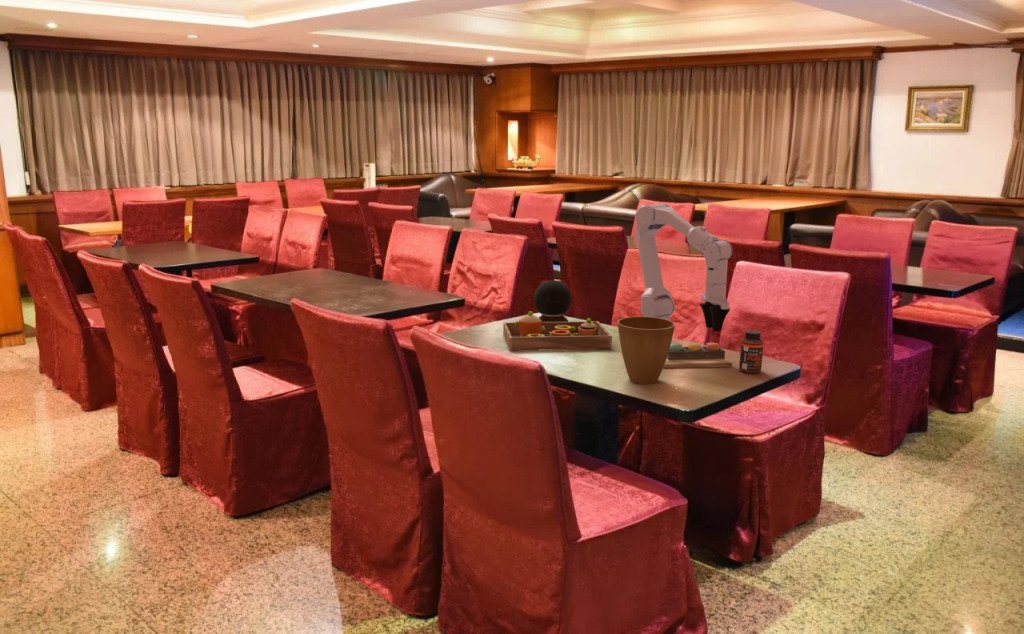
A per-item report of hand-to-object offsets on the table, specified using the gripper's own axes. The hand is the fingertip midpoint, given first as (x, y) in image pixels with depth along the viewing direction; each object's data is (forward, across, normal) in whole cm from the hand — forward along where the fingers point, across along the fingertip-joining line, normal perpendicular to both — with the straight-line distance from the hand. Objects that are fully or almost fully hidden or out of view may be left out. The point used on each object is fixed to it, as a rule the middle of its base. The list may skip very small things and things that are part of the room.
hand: (713, 329), depth 243 cm
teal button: (+7, -1, -11) cm, 13 cm away
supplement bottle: (+10, +13, +6) cm, 17 cm away
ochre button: (+7, 0, -5) cm, 9 cm away
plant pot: (+10, +17, -27) cm, 33 cm away
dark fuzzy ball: (+10, -58, -34) cm, 68 cm away
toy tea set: (+10, -32, -39) cm, 51 cm away
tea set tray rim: (+9, -31, -39) cm, 51 cm away
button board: (+9, -1, -6) cm, 11 cm away
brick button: (+7, 0, 0) cm, 7 cm away
